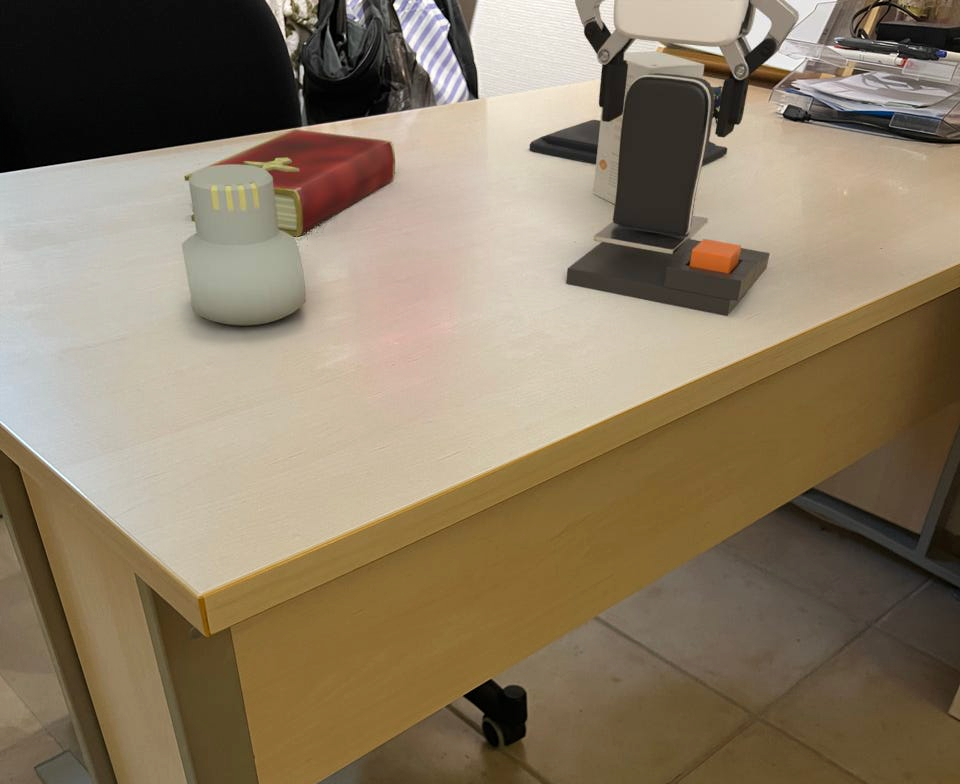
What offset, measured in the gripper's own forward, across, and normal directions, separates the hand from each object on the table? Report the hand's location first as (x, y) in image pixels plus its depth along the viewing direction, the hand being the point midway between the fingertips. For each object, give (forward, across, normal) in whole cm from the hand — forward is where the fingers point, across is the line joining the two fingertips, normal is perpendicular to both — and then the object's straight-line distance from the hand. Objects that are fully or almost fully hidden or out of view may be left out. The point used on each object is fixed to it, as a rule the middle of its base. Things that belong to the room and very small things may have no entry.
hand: (667, 125), depth 77 cm
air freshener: (+11, +24, +26) cm, 37 cm away
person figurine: (+11, +16, -61) cm, 64 cm away
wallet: (+11, +16, -38) cm, 42 cm away
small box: (+11, +8, -18) cm, 23 cm away
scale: (+11, -2, +2) cm, 12 cm away
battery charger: (+8, 0, 0) cm, 8 cm away
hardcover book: (+11, +38, 0) cm, 39 cm away
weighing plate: (+8, 0, 0) cm, 8 cm away
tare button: (+9, -7, +5) cm, 12 cm away
